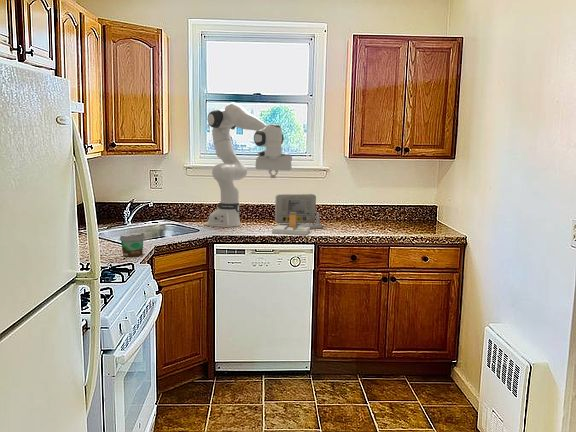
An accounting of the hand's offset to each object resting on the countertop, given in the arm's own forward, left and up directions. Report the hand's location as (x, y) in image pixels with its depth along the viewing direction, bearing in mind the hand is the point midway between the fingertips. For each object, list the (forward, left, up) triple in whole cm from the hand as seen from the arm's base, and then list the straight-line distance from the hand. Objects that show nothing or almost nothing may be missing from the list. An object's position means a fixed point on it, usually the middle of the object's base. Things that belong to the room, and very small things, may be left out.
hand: (273, 178), depth 309 cm
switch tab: (+8, +20, -30) cm, 37 cm away
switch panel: (+8, +16, -33) cm, 38 cm away
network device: (+6, +40, -33) cm, 52 cm away
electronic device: (+17, +34, -34) cm, 51 cm away
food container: (-50, -68, -33) cm, 91 cm away
